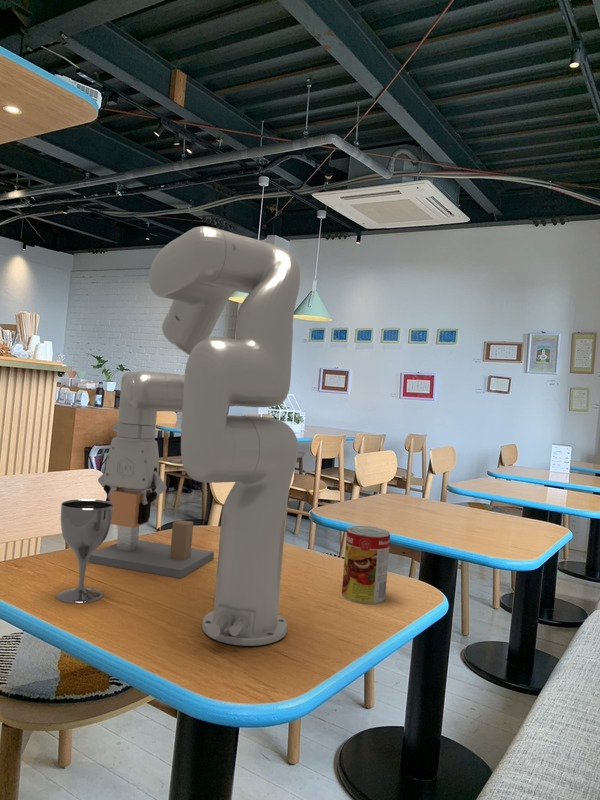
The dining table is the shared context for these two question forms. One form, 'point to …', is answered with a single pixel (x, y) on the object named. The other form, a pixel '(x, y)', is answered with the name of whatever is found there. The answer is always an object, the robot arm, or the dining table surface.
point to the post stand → (158, 554)
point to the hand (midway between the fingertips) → (129, 519)
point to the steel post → (127, 538)
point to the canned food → (366, 564)
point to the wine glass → (84, 540)
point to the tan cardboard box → (125, 507)
